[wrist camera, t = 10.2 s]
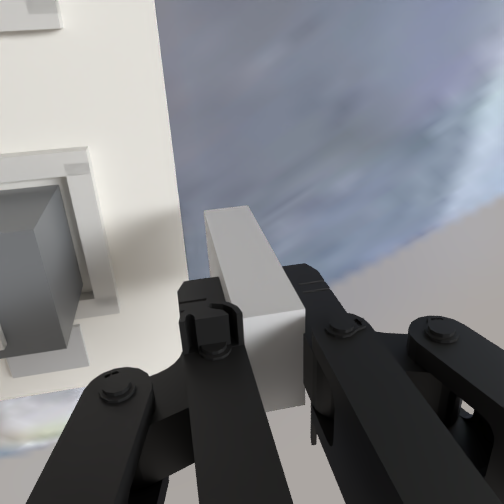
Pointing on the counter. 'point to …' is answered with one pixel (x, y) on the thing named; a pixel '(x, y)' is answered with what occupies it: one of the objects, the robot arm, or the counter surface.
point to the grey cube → (36, 272)
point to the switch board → (96, 179)
